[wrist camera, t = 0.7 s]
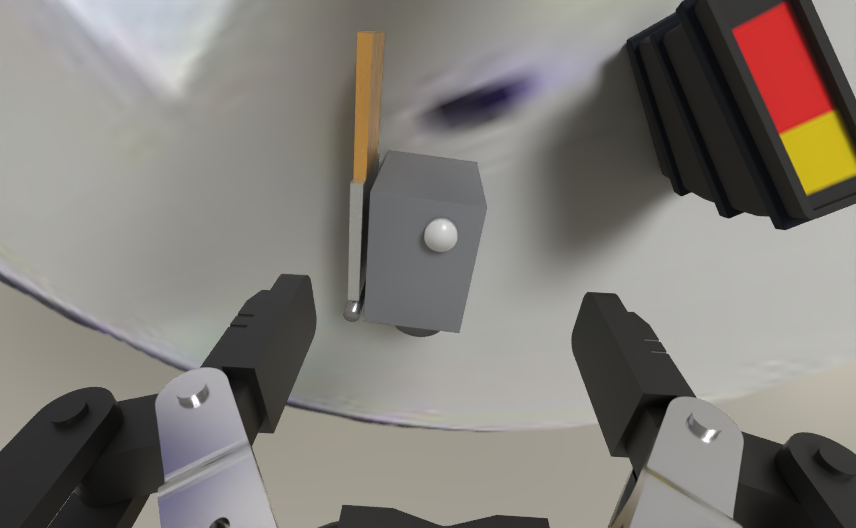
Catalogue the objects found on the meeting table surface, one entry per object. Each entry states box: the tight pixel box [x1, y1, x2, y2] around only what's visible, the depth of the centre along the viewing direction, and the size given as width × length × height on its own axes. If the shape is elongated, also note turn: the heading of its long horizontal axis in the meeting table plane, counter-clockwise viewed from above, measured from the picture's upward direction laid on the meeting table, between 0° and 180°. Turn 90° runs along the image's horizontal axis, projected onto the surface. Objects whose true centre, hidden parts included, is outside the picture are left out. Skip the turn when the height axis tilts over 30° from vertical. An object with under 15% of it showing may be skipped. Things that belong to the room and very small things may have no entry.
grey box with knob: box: [364, 150, 487, 337], centre depth 30 cm, size 12×7×10 cm, turn 173°
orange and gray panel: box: [343, 31, 385, 322], centre depth 28 cm, size 19×1×8 cm, turn 173°
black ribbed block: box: [627, 0, 856, 230], centre depth 23 cm, size 4×13×15 cm, turn 30°
